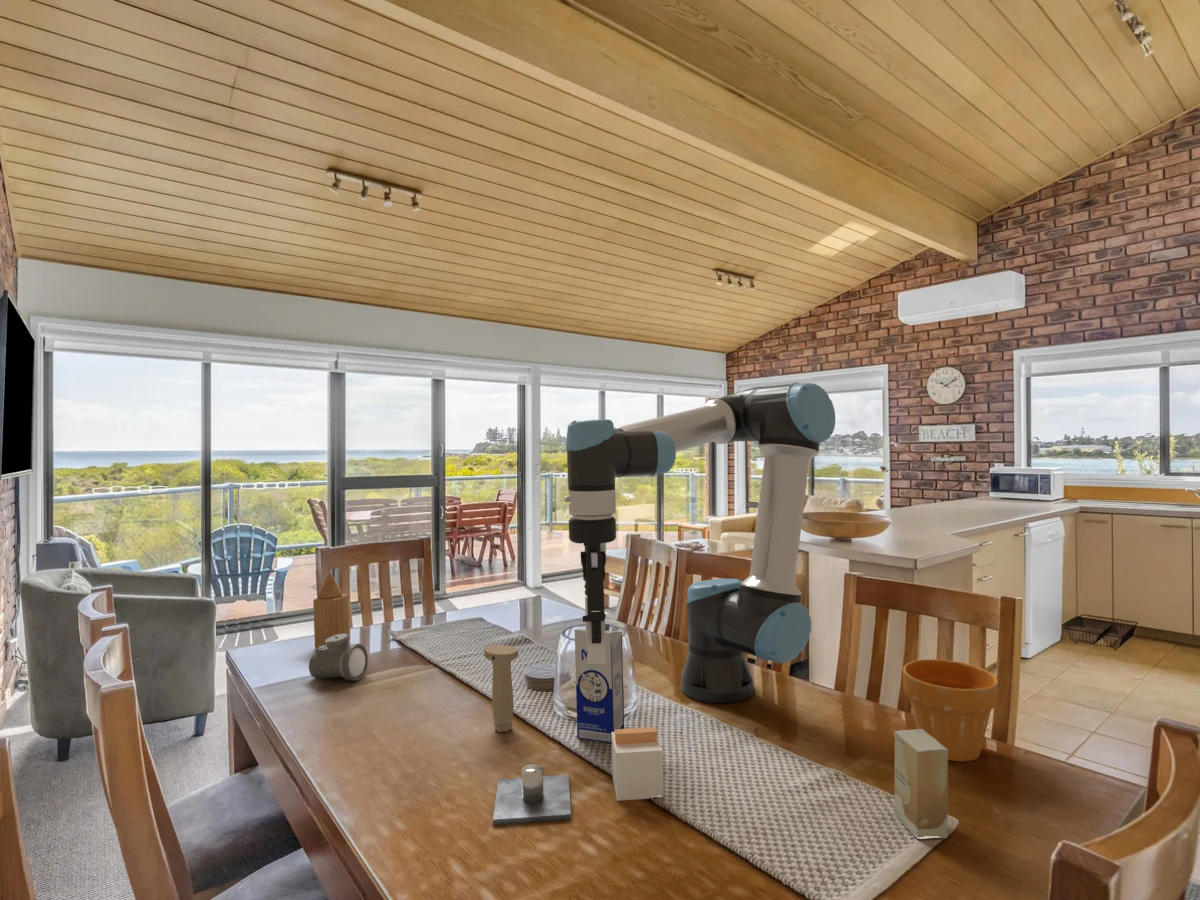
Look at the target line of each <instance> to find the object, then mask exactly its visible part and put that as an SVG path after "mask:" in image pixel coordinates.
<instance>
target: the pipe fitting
mask: <svg viewBox="0 0 1200 900" xmlns="http://www.w3.org/2000/svg"><path fill="white" fill-rule="evenodd" d="M349 638H350V636H349V637H348V634H346V633H341V634H337V635H333V636H331V637H329V638H327V639H326V640H325V644H326V645H324V646H320V647H318V648H316V650H315V652H314V653H313V654H312V656H311V657H310V659H309V663H308V671H309V673H310V676H311V677H312V678H314V679H328V678H341V677H342V678H344V679H345V680H346V681H349V682H358V681H360V680H362V679H363V677H364V676H365V675H366V673H367V670H368V667H369V655H368V651H367V648H366V647H365V646H364V645H363V644H362V643H352V644H350V642H348V640H349ZM349 641H350V640H349Z"/></svg>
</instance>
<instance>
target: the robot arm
mask: <svg viewBox="0 0 1200 900" xmlns="http://www.w3.org/2000/svg"><path fill="white" fill-rule="evenodd" d="M835 426H836V411H835V407H834V404H833V401H832V399H831V398H830V395H829V394H828V392H827V391H826V390H825V389H824V388H823V387H821V386H820V385H818V384H816V383H813V382H802V383H801V382H792V383H786V384H785V383H784V384H778V385H777V384H776V385H766V386H756V387H751V388H747V389H744V390H740V391H737V392H734V393H732V394H727V395H725V396H721V397H717V398H714V399H710V400H708V401H707V402H706V403H705V404H704V406H702V407H696V408H693V409H688V410H684V411H680V412H677V413H676V412H675V413H671V414H668V415H663V416H659V417H658V416H657V417H655V418H650V419H647V420H645V419H644V420H641V421H637V422H632V423H628V424H625V425H620V426H616V427H615V426H614V422H613V421H612V419H576V420H572V421H570V422H569V424H568V425H567V431H566V432H567V434H566V446H565V450H566V462H567V463H566V464H567V485H568V486H567V489H568V494H569V495H567V496H564V502H565V503H568V514H569V515H570V516H572V517H570V518H569V520H568V539H569V541H570V542H572V543H574V544H583V546H584V551H580V564H581V567H582V580H583V581H584V586H583V587H584V589H585V590H584V594H585V597H584V609H585V611H584V612H585V615H582V622H583V623H584V622H585V629H586V636H587V655H588V664H606V649H605V624H606V618H607V615H606V613H605V612H606V611H605V587H604V580H605V579H606V567H605V566H606V564H607V555H606V551H605V550H602V549H601V544H604V543H605V544H607V543H612V542H613V541H615V540H616V539H617V527H616V526H617V524H616V523H617V521H616V518H615V517H614V516H613V515H615V513H616V512H617V502H616V501H617V499H616V498H617V497H616V496H617V495H616V478H622V477H623V478H624V477H642V476H652V477H654V476H657V475H663V474H667V473H668V472H669V471H671V470H672V468H673V467H674V465H675V462H676V458H677V455H676V454H677V452H681V451H684V450H689V449H690V448H695V447H698V446H699V447H700V446H703V445H707V444H710V443H715V444H717V445H724V444H727V443H733V442H753V443H756V442H758V444H757V446H758V449H759V450H760V451H761V453H762V454H763V456H764V461H763V469H762V476H761V477H762V478H761V483H760V484H761V485H760V490H759V491H760V493H759V498H758V499H759V500H758V508H757V516H756V524H755V530H754V537H753V539H754V540H753V548H752V554H751V561H750V571H749V575H748V576H747V577H746V578H744V580H743V581H742V580H741V579H738V578H716V579H714V578H713V579H706V580H701V581H696V582H693V583H691V584H690V585H689V586H688V589H687V599H686V616H687V618H686V619H687V620H686V621H687V642H688V643H687V644H688V653H687V657H686V659H685V663H684V666H683V669H682V672H681V676H680V689H681V692H682V693H683V694H684V695H686V696H687V697H689V698H691V699H694V700H696V701H701V702H706V703H713V704H729V703H737V702H741V701H744V700H746V699H749V698H750V697H751V696H753V694H754V678H753V675H752V673H751V670H750V667H749V664H748V661H747V657H746V655H745V653H746V654H749V655H750V656H751V655H752V656H754V657H757V658H758V659H761V660H763V661H769V662H773V663H777V664H785V663H788V662H791V661H793V660H795V658H797V657H798V656H799V654H800V653H802V651H803V650H804V649H805V647H806V645H807V643H808V641H809V639H810V637H811V636H810V635H811V630H812V618H811V616H810V612H809V610H808V609H807V608H806V606H804V605H803V604H802V603H801V601H802V592H801V590H800V589H799V588H798V586H797V584H796V583H795V582H796V574H797V567H798V558H799V550H800V549H799V548H800V541H801V532H802V524H803V517H804V508H805V499H806V492H807V491H806V490H807V483H808V482H807V481H808V474H809V467H810V462H811V460H813V459H814V458H816V457H817V456H818V455H819V453H820V452H819V450H820V444H821V443H824V442H826V441H828V440H829V439H830V438H831V435H832V434H833V433H834V431H835Z"/></svg>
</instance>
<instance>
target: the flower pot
mask: <svg viewBox="0 0 1200 900" xmlns="http://www.w3.org/2000/svg"><path fill="white" fill-rule="evenodd" d="M902 681H903V683H902V684H903V685H902V686H903V690H904V693H905V694H906V695H907V696H908V697H909V699H910V705H911V708H912V713H913V716H914V717H913V718H914V722H915V723H914V724H915V727H916V729H923V730H924V731H925V732H927V733H928V734H929V735H930V736H932V737H933V738H935V739H936V740H937V741H938V742H939V743H940V744H941V745H943V746H944V747H945V748H946V749H948V761H953V762H959V763H960V762H961V763H962V762H970V761H976V759H978V758H979V757H980V754H981V751H982V747H983V744H984V740H985V735H986V731H987V728H988V724H989V719H990V715H991V712H992V710H994V709H995V708H996V707H997V706H998V702H999V679H998V677H997V676H995V675H994V674H993V673H992V672H990V671H988V670H986V669H984V668H982V667H979V666H976V665H974V664H969V663H965V662H961V661H955V660H950V659H949V660H948V659H938V658H937V659H933V658H932V659H918V660H913V661H910V662H908V663H906V664H905V665H904V666H903V668H902Z"/></svg>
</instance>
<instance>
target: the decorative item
mask: <svg viewBox="0 0 1200 900" xmlns="http://www.w3.org/2000/svg"><path fill="white" fill-rule="evenodd" d="M320 588H321V589H320V591H319V593H318V595H317V597H316V598H313V601H312V604H313V627H314V628H313V630H314V631H313V632H314V633H313V635H314V648H315V649H318V647H320V646H324V645H326V644H325V640H326V639H327V638H329V637H331V636H333V635H337V634H341V633H346V634H348V637H349V640H348V643H350V639H351V638H350V613H349V610H350V609H349V594H347V593H344V592H343V591H342V588H341V587H340V586H339V584H338V582H337V581H336V579H335V577H334V576H333V575H332V573H331V571H329V572H328V574H327V575H326V578H325V580H324V582H323V585H321V587H320Z"/></svg>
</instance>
